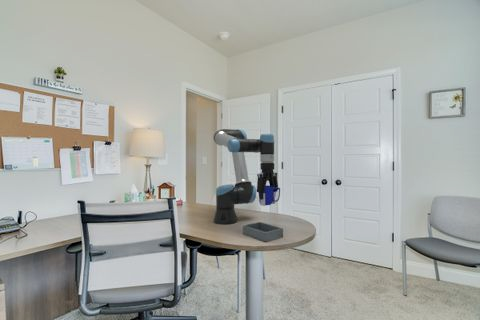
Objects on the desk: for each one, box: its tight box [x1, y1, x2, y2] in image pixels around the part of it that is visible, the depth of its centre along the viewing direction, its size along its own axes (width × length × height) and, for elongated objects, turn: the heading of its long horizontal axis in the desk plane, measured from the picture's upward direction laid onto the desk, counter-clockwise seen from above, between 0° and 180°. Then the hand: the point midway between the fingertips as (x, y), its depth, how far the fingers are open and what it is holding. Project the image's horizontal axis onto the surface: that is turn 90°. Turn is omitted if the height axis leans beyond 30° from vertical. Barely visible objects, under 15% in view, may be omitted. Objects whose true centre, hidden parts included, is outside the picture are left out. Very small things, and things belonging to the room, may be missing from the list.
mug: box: [258, 184, 281, 206], centre depth 134 cm, size 8×12×10 cm
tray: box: [242, 221, 284, 243], centre depth 129 cm, size 17×12×4 cm
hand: (268, 204), depth 134 cm, fingers closed on mug, 7 cm apart
